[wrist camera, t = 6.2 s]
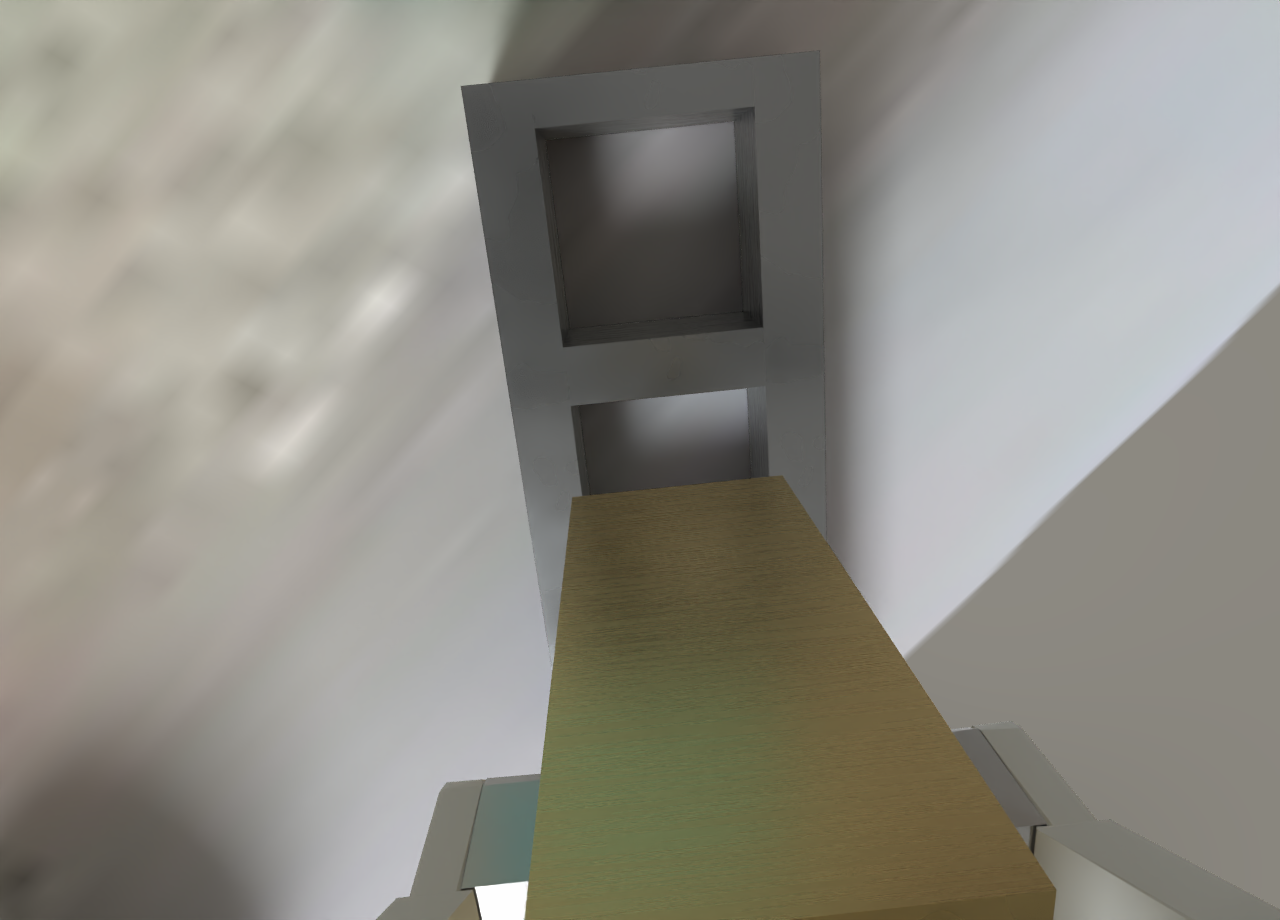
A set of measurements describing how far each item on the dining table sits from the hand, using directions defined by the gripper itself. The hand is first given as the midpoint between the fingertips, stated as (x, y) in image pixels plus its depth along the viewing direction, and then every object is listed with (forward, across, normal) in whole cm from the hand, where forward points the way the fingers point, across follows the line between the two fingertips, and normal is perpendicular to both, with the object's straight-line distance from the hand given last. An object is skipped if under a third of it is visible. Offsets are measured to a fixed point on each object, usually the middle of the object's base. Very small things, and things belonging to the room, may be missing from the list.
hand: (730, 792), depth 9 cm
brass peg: (+6, 0, 0) cm, 6 cm away
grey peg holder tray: (+14, 0, 0) cm, 14 cm away
